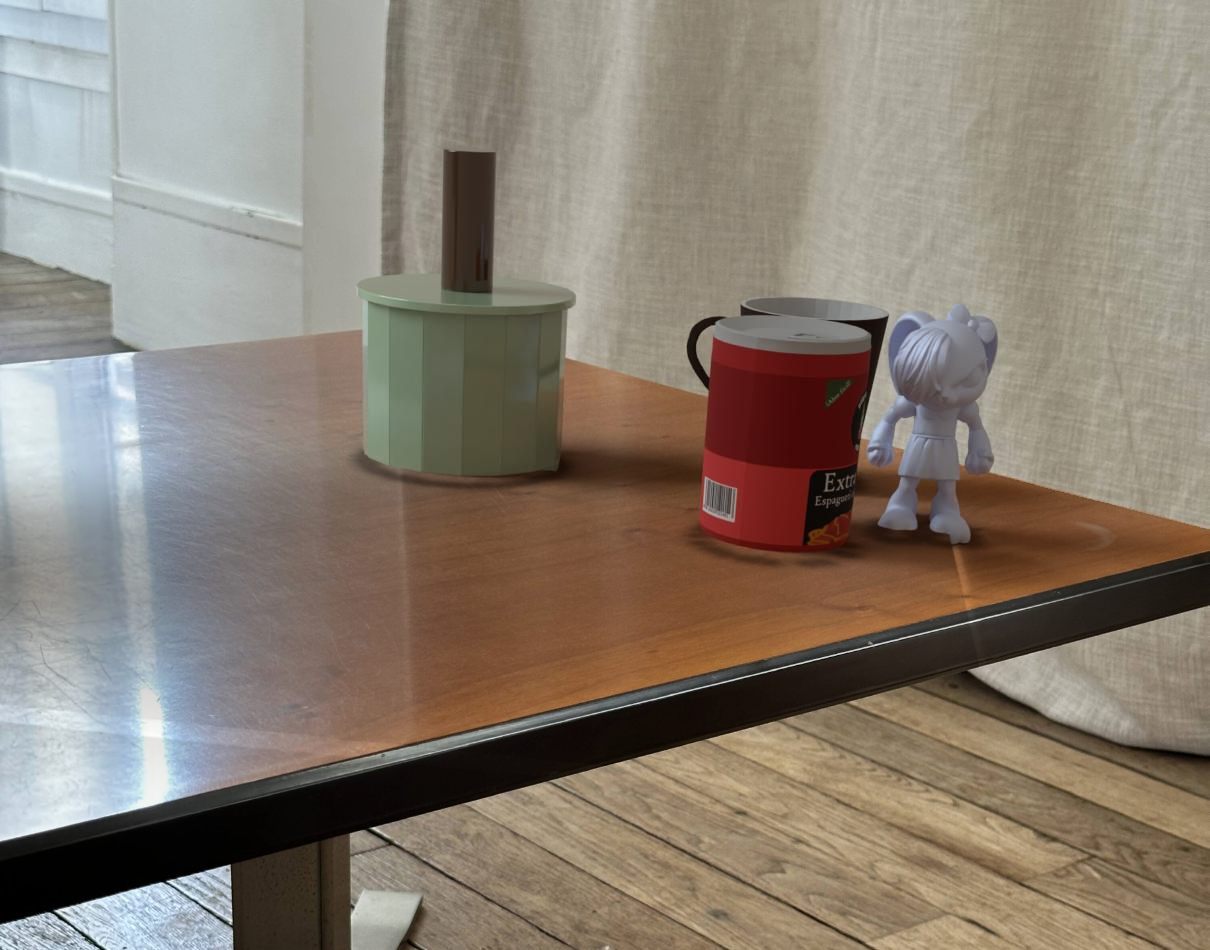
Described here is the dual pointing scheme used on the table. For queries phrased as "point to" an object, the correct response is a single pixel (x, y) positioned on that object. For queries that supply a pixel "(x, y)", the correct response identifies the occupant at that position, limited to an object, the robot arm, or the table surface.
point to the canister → (463, 390)
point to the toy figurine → (936, 412)
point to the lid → (467, 254)
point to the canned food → (783, 432)
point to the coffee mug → (805, 308)
